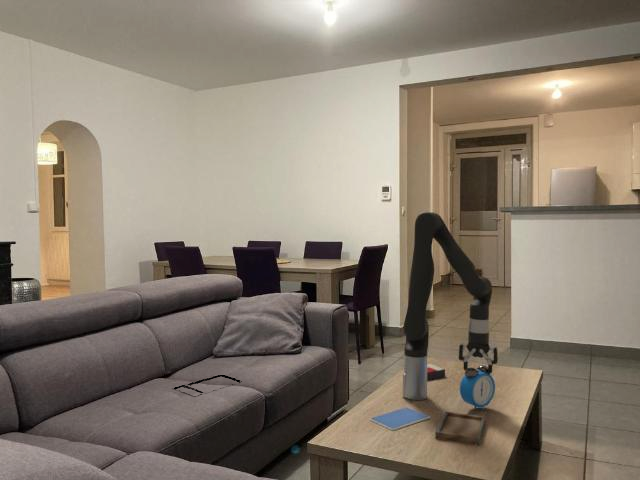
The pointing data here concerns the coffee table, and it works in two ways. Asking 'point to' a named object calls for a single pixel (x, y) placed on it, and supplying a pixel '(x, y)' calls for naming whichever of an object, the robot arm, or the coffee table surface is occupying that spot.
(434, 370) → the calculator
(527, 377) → the coffee table surface
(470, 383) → the alarm clock
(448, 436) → the tray
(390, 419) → the blue notebook
